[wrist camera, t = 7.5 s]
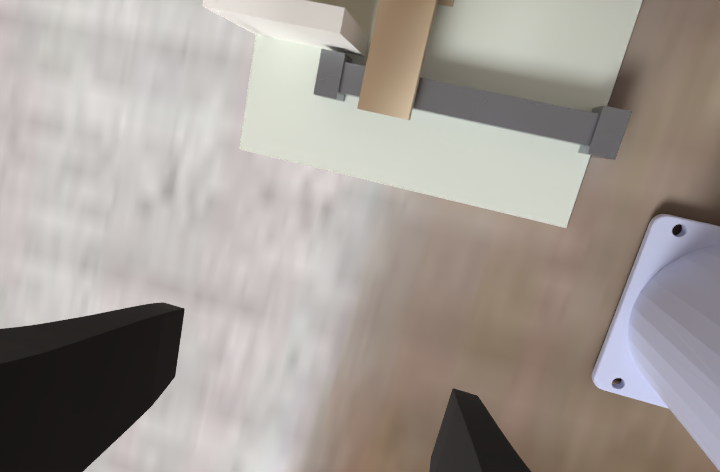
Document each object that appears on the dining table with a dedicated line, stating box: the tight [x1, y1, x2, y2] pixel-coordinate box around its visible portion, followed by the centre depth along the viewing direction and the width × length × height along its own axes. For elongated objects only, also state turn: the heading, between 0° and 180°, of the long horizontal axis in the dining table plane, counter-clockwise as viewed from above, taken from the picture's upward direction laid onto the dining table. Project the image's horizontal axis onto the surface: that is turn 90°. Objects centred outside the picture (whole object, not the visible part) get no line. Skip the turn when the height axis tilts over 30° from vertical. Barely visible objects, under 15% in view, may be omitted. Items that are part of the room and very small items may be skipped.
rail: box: [313, 49, 632, 160], centre depth 19 cm, size 12×2×2 cm, turn 78°
